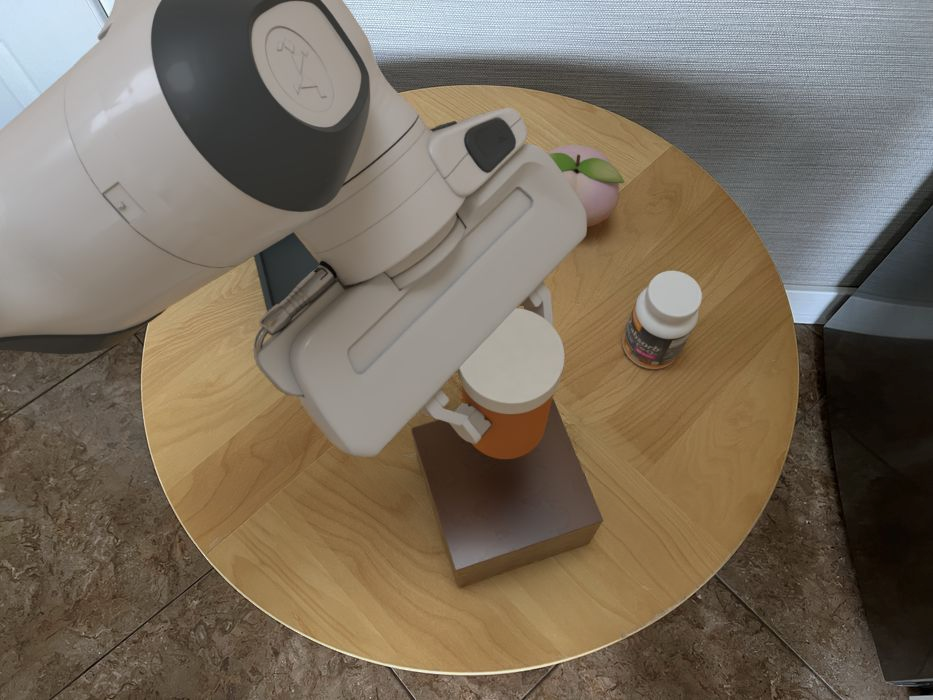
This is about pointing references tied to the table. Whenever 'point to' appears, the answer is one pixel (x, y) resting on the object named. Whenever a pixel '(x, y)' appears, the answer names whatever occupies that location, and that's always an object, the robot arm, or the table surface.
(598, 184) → the decorative fruit
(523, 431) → the amber pill bottle
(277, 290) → the slate tray
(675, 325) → the pill bottle
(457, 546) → the walnut block
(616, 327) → the table surface
